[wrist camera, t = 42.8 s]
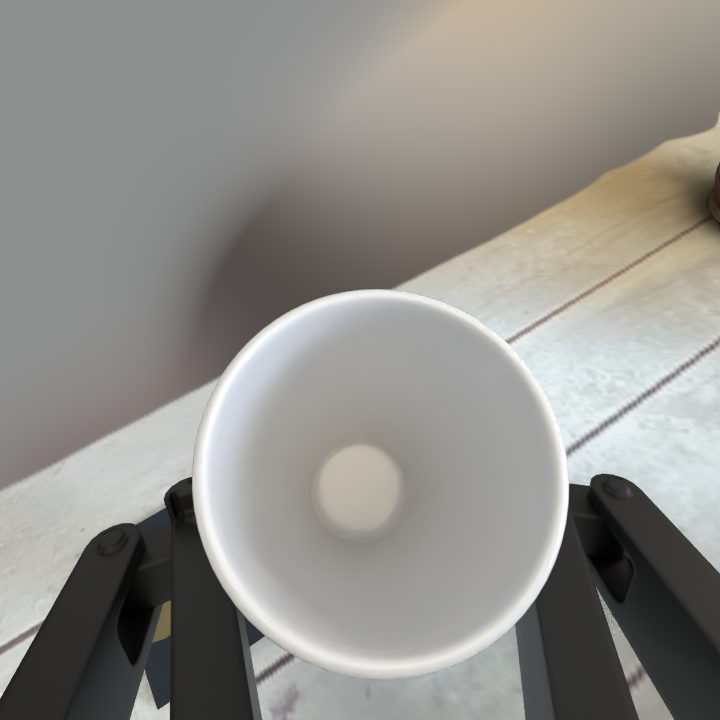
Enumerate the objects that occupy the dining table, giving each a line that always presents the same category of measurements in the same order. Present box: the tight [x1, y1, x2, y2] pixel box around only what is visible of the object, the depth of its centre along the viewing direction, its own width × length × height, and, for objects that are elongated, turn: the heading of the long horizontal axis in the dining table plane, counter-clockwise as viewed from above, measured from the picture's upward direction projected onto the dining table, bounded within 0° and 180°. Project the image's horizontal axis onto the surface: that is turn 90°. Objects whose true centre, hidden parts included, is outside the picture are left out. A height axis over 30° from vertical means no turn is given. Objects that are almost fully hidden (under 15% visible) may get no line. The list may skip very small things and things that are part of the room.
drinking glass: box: [192, 289, 569, 680], centre depth 14 cm, size 7×7×15 cm
